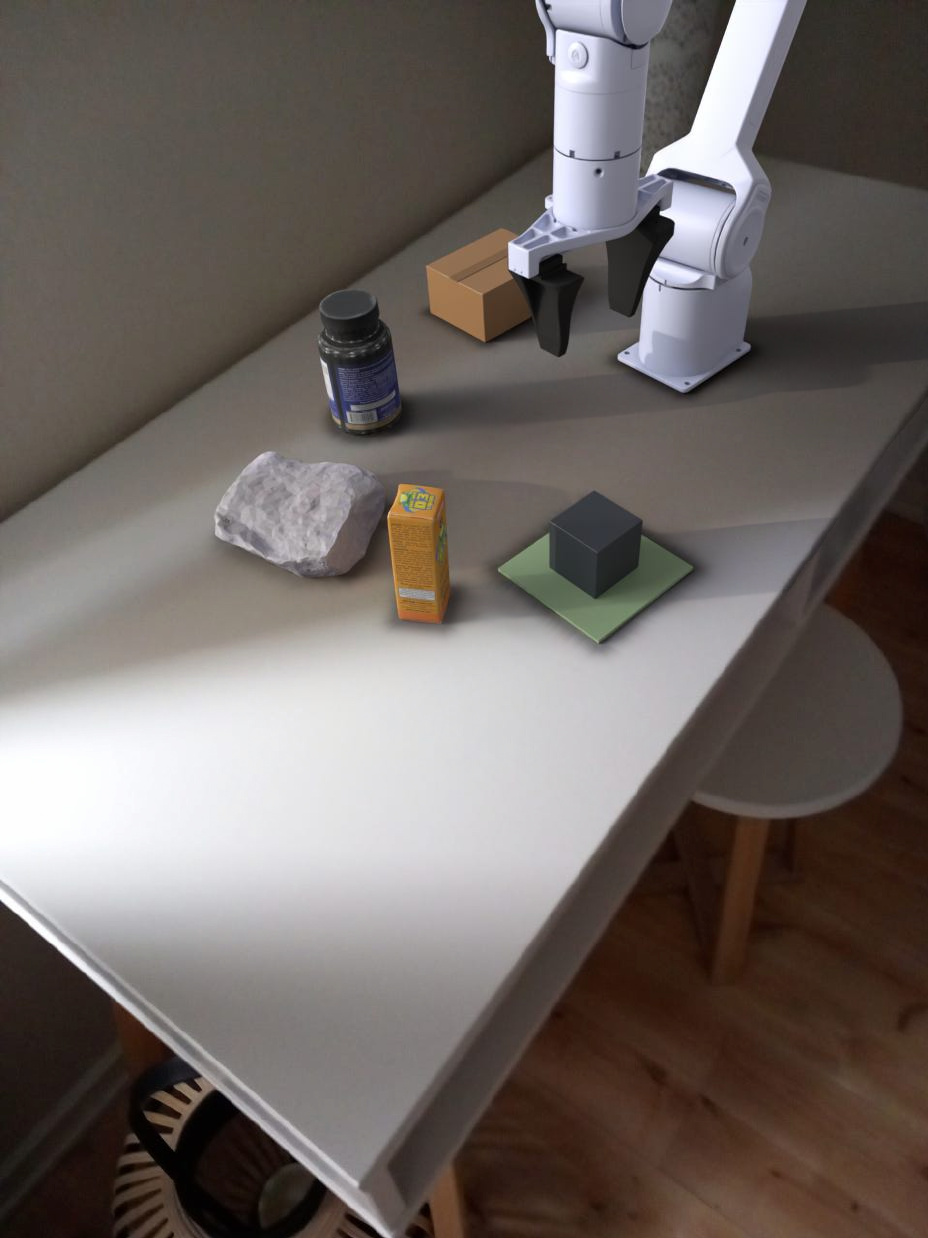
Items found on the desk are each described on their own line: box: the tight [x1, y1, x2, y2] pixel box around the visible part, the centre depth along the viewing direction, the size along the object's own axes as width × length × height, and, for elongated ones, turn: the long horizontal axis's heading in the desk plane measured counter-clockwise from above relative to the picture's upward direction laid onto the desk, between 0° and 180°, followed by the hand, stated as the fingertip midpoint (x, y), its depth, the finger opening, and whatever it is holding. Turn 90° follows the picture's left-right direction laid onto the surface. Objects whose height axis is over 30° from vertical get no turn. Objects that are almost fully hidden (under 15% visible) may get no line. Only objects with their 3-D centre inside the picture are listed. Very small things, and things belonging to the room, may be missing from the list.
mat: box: [497, 532, 694, 644], centre depth 71 cm, size 10×10×1 cm
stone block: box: [213, 450, 386, 579], centre depth 75 cm, size 12×5×10 cm
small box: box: [548, 490, 644, 599], centre depth 69 cm, size 5×5×5 cm
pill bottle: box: [316, 288, 402, 437], centre depth 81 cm, size 6×6×11 cm
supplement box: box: [387, 483, 451, 624], centre depth 66 cm, size 3×3×10 cm
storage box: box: [425, 227, 532, 343], centre depth 94 cm, size 10×8×5 cm
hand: (588, 330), depth 73 cm, fingers open, 7 cm apart
